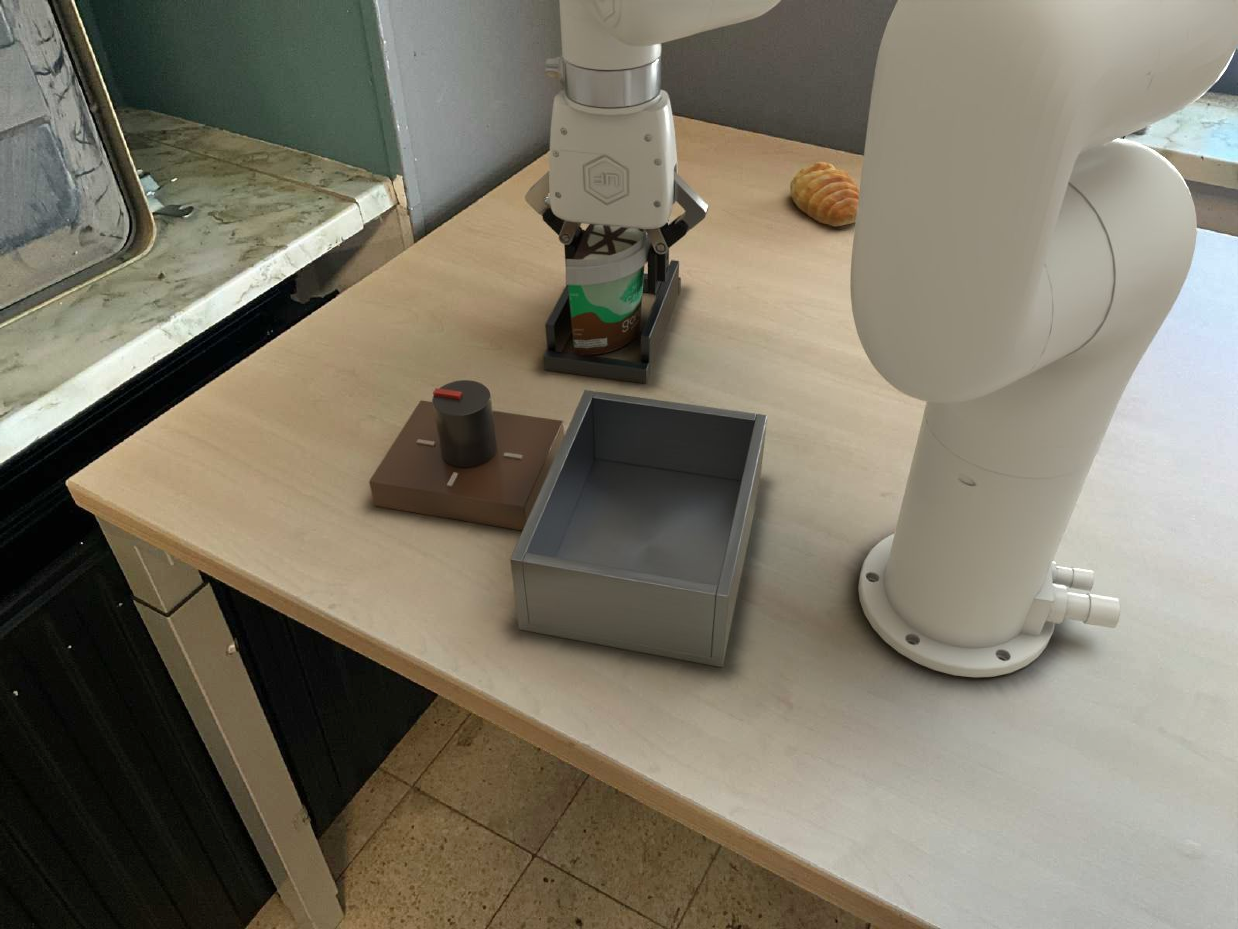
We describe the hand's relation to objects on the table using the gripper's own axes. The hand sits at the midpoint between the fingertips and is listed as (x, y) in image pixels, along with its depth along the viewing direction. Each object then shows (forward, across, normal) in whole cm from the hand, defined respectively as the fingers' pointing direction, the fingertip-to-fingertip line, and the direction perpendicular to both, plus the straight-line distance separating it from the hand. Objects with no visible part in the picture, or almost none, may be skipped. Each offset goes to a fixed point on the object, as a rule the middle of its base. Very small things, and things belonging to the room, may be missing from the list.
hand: (617, 280), depth 88 cm
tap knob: (+3, -6, -22) cm, 23 cm away
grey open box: (+6, +9, -27) cm, 29 cm away
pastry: (+5, +17, +28) cm, 33 cm away
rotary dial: (+5, -6, -22) cm, 23 cm away
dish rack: (+5, 0, 0) cm, 5 cm away
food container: (+5, 0, 0) cm, 5 cm away
